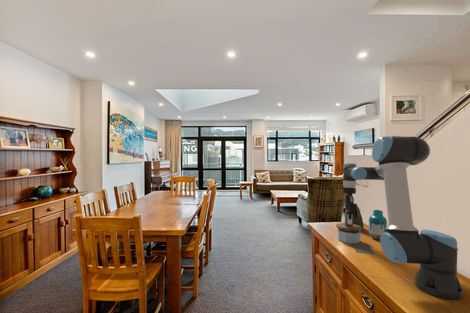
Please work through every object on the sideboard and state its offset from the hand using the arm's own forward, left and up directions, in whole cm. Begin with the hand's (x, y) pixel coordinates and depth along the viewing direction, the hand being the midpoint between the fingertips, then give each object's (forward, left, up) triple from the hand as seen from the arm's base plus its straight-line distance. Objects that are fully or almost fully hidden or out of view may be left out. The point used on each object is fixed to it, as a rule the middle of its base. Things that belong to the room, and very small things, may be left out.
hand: (348, 223), depth 157 cm
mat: (-14, -5, -12) cm, 19 cm away
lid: (0, 0, -3) cm, 3 cm away
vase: (+10, -20, -12) cm, 25 cm away
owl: (+33, -12, -12) cm, 37 cm away
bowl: (0, 0, -12) cm, 12 cm away
